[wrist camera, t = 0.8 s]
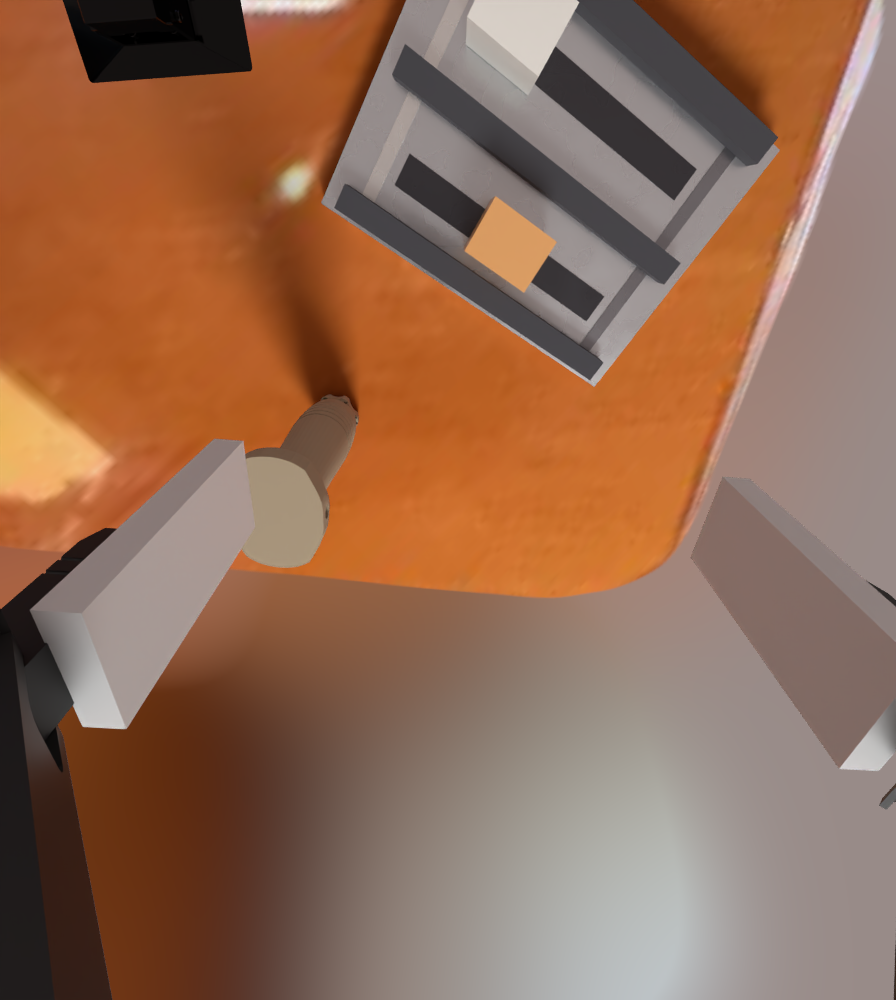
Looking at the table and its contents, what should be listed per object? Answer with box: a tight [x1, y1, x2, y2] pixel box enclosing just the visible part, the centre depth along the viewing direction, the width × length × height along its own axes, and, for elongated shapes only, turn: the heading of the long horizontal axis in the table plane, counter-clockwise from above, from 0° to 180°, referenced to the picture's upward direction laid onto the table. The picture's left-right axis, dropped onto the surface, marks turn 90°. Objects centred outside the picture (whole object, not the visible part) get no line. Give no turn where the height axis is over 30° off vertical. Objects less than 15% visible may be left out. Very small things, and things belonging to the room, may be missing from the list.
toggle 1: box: [466, 0, 579, 95], centre depth 24 cm, size 4×3×4 cm
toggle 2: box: [464, 196, 557, 292], centre depth 28 cm, size 4×3×4 cm
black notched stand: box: [63, 0, 252, 83], centre depth 25 cm, size 12×7×5 cm, turn 93°
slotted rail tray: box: [334, 0, 778, 380], centre depth 28 cm, size 19×16×1 cm
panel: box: [321, 0, 780, 387], centre depth 29 cm, size 21×16×2 cm
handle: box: [242, 394, 359, 568], centre depth 31 cm, size 5×6×15 cm
